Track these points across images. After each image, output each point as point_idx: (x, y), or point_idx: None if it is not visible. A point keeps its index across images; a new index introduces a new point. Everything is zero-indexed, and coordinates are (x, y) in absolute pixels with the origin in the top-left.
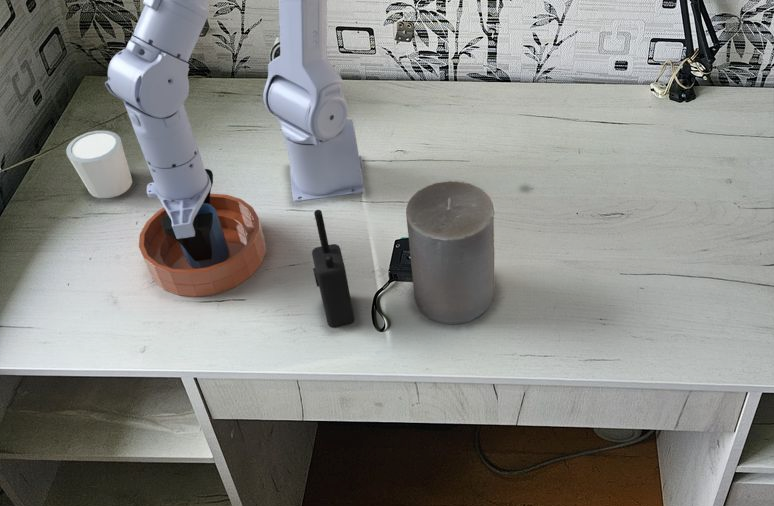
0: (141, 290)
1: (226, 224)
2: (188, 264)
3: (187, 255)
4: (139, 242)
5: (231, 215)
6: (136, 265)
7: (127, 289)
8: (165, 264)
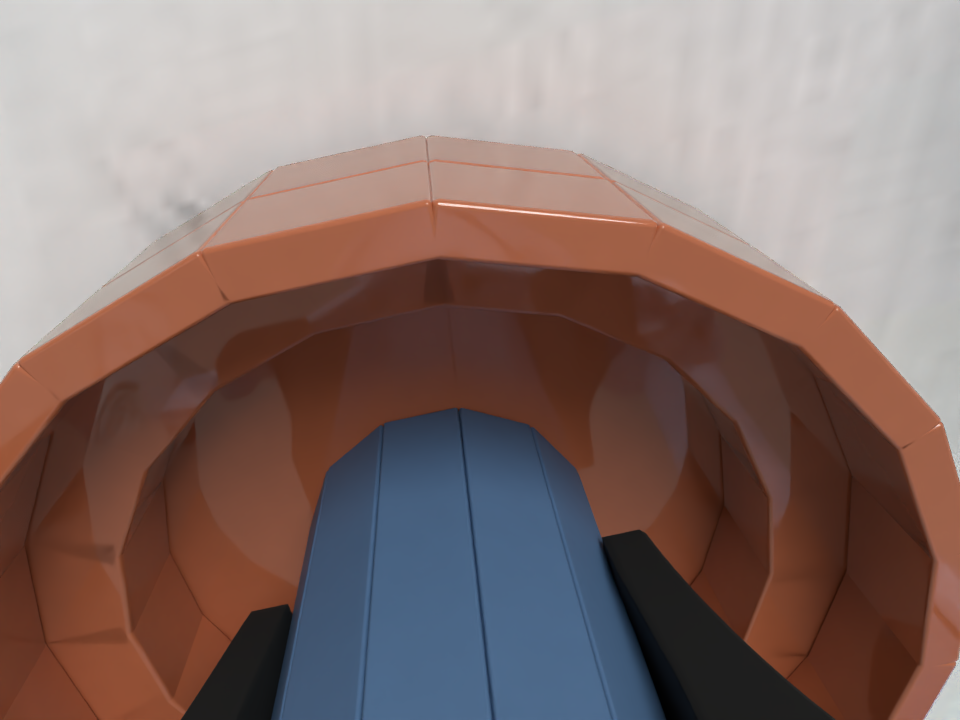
0: (75, 140)
1: (710, 591)
2: (359, 438)
3: (315, 544)
4: (275, 238)
5: None
6: (365, 8)
7: (57, 6)
8: (193, 412)
